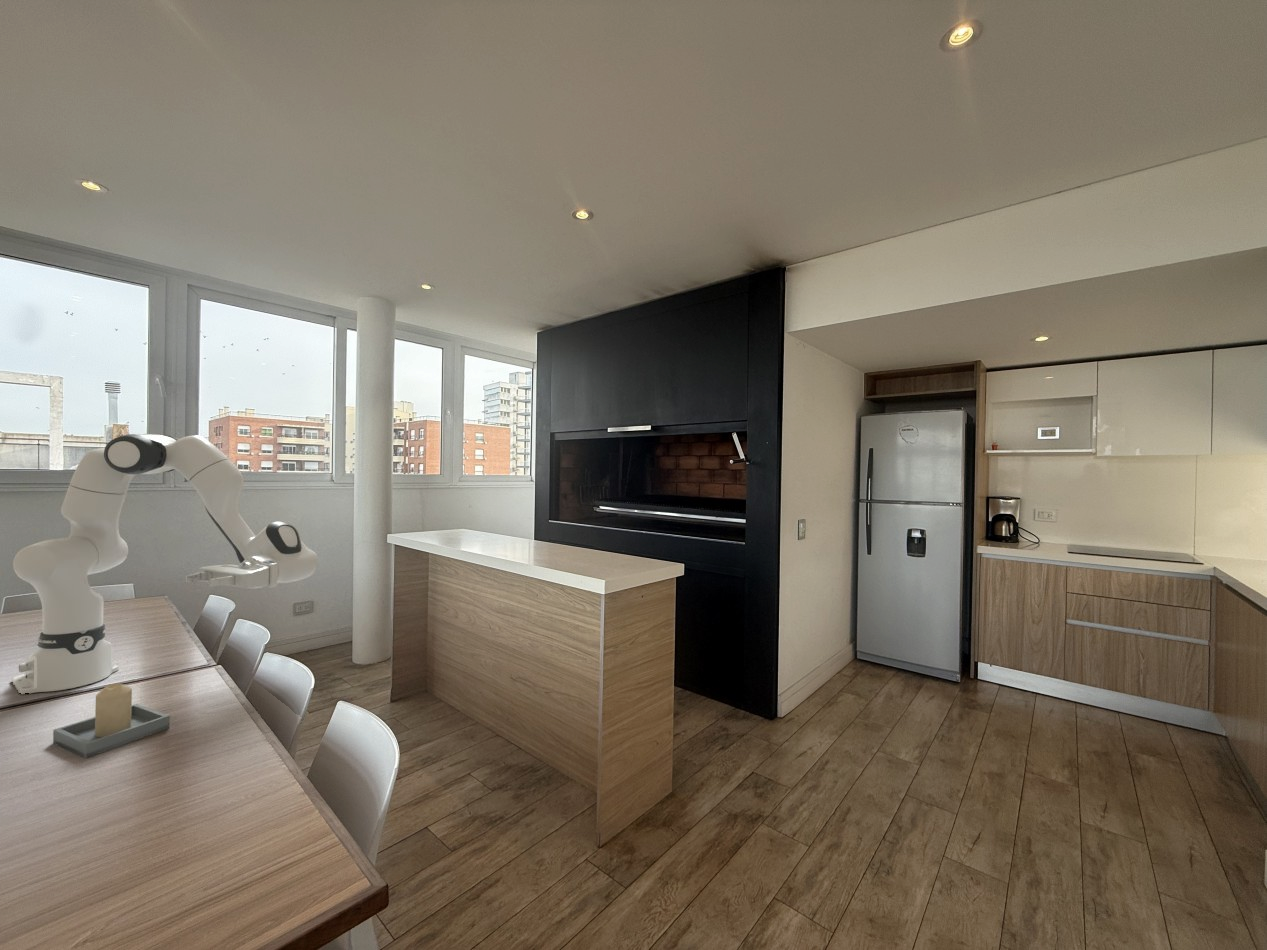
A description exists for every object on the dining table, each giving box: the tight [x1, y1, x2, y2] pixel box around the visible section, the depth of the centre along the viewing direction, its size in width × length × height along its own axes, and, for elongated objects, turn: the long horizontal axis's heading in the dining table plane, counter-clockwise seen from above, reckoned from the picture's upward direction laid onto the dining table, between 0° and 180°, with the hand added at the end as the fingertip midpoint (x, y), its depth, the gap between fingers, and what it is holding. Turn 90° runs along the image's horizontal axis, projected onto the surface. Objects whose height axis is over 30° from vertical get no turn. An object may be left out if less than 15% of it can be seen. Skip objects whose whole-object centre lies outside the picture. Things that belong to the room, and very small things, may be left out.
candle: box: [94, 683, 133, 738], centre depth 111 cm, size 6×6×10 cm
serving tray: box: [52, 703, 171, 759], centre depth 111 cm, size 14×14×3 cm
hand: (198, 580), depth 129 cm, fingers open, 8 cm apart
